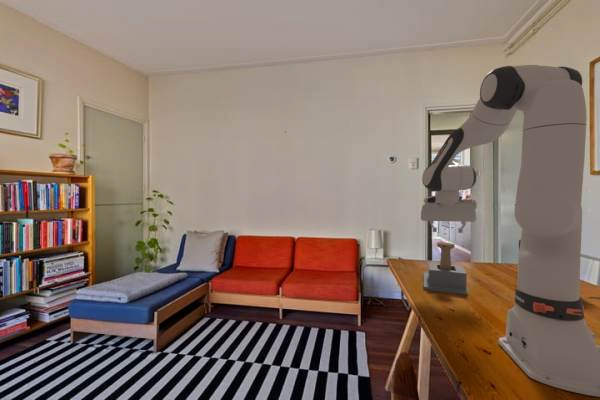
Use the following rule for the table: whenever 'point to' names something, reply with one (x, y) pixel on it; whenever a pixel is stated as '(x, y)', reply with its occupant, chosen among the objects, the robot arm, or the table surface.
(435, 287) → the socket block
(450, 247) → the handle
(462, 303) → the table surface
